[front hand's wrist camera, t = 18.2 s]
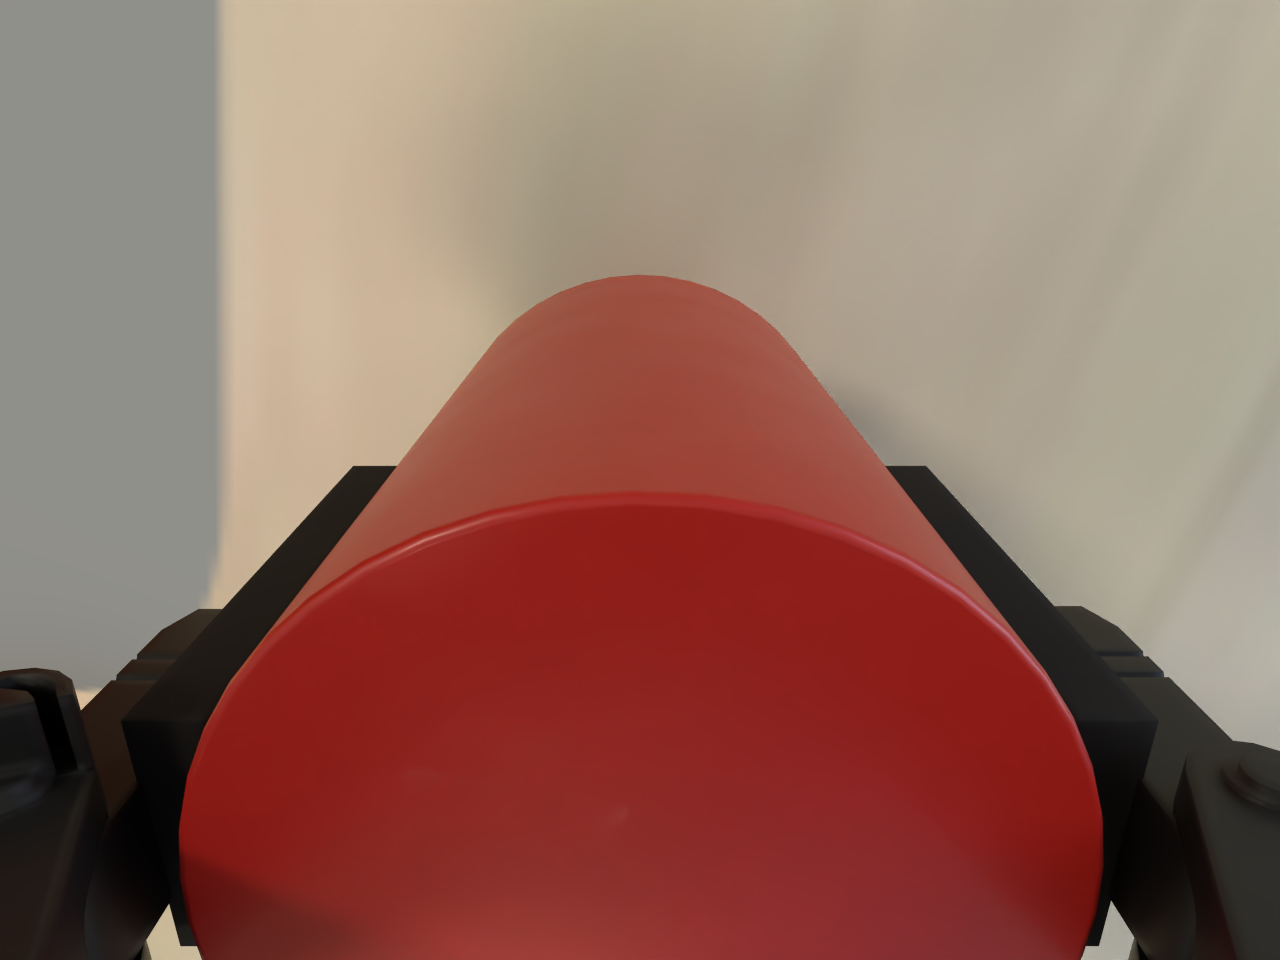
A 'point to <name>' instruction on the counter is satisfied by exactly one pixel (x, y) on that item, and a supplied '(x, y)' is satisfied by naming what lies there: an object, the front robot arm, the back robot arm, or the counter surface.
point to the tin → (641, 688)
